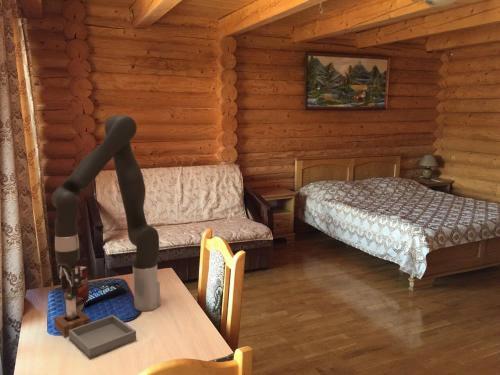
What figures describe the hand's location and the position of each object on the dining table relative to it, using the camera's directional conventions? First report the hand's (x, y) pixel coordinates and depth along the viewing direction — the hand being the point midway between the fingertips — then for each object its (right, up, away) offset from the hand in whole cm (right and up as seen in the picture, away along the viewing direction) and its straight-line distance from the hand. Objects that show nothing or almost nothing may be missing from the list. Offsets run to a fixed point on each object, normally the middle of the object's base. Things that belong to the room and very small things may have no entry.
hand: (69, 292), depth 148 cm
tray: (+13, -15, -5) cm, 21 cm away
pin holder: (0, -14, +2) cm, 14 cm away
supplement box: (-4, -11, +18) cm, 21 cm away
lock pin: (0, -14, +2) cm, 14 cm away
